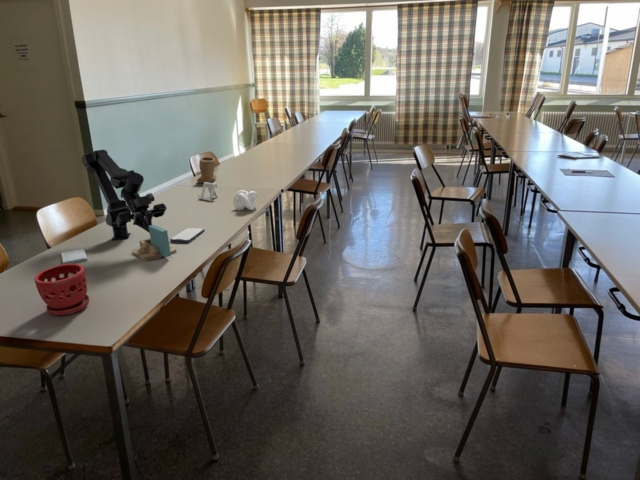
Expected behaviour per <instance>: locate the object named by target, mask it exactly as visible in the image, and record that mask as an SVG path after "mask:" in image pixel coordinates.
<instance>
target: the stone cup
mask: <svg viewBox="0 0 640 480" xmlns="http://www.w3.org/2000/svg"><path fill="white" fill-rule="evenodd" d="M198 161H199V162H198V163H199V165H198V166H199V170H200V171H199V172H200V174H201V176H200V177H198V178H197V179H196V182H197V183H203V184H204V182H208V183H212V182H213V181H215V179H216V178H217V175H215V174H214V172H215V168H216V159H215V158H214V157H212V156H202V157H200V159H199V160H198Z"/></svg>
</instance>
